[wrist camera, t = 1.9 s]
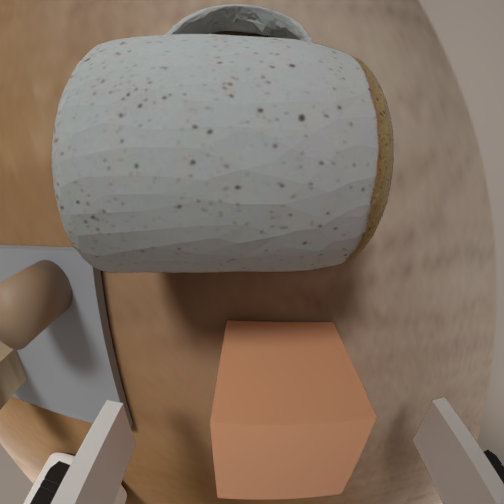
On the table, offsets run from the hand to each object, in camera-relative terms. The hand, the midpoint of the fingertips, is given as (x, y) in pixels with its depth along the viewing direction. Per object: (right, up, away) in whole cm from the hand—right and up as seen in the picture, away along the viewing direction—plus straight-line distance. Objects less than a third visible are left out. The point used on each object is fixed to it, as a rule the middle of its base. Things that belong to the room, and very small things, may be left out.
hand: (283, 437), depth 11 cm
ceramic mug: (-2, +13, +2) cm, 13 cm away
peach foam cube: (0, +2, +5) cm, 5 cm away
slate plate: (-16, +2, +5) cm, 17 cm away
